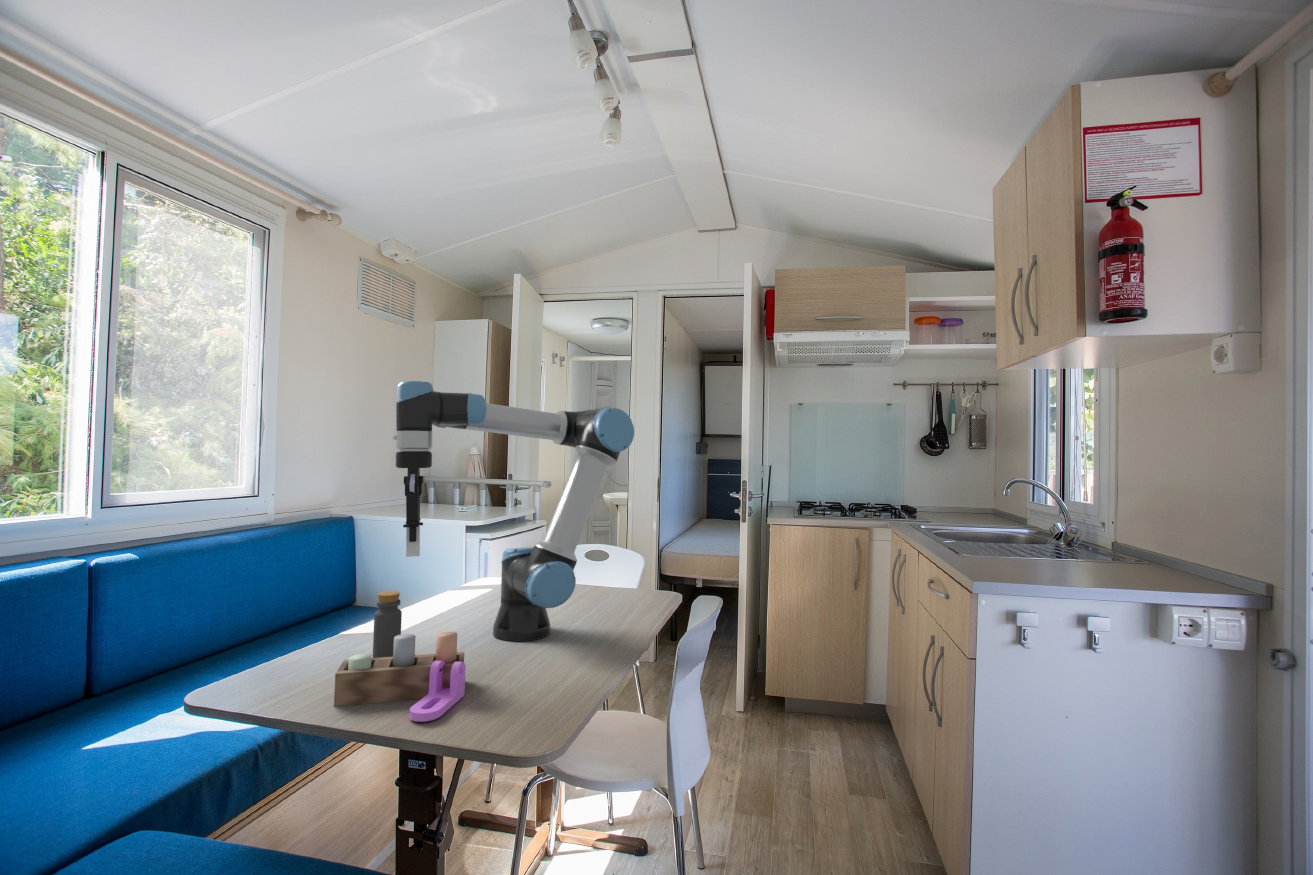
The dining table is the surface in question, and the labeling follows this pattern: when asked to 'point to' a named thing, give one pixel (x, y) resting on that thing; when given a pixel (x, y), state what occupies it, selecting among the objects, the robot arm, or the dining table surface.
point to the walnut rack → (387, 680)
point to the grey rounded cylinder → (404, 650)
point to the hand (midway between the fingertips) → (412, 555)
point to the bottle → (386, 624)
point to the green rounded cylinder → (359, 662)
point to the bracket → (440, 693)
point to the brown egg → (446, 647)
